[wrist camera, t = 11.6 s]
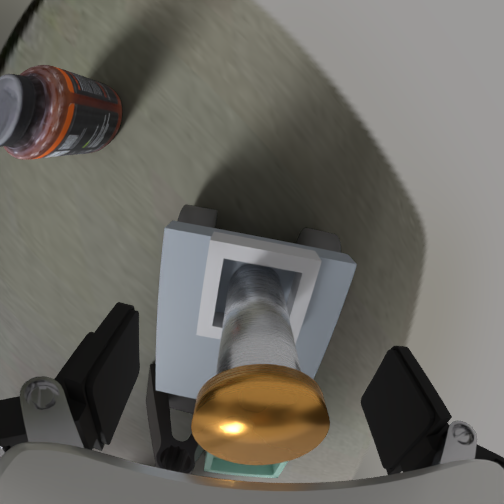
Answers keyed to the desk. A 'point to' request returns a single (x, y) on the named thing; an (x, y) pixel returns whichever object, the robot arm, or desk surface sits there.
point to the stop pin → (258, 381)
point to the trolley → (216, 287)
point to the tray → (241, 468)
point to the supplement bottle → (56, 113)
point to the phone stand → (169, 429)
